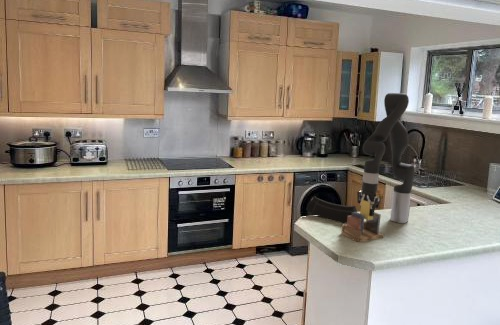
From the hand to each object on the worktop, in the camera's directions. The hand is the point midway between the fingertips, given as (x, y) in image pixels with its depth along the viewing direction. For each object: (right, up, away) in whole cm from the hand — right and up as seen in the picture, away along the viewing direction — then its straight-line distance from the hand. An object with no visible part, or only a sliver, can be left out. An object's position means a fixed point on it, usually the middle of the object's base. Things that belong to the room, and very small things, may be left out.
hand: (366, 214), depth 208 cm
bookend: (+4, -9, +4) cm, 11 cm away
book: (0, -2, 0) cm, 2 cm away
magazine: (-13, -6, +26) cm, 29 cm away
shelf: (-2, -11, +1) cm, 11 cm away
